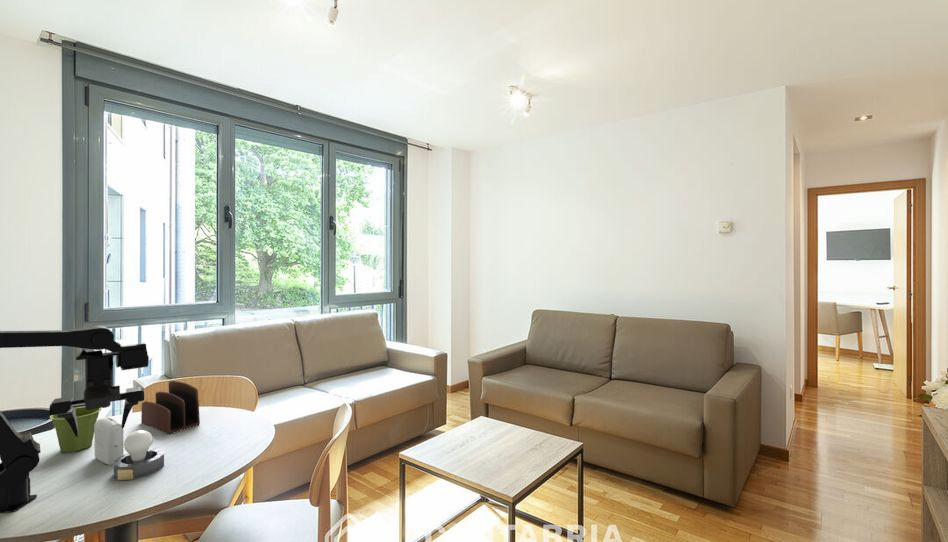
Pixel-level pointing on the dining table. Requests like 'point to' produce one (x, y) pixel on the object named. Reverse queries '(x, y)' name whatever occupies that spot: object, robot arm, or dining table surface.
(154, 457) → the roll of grey tape
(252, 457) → the dining table surface
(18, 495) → the robot arm
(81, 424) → the plant pot
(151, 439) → the lightbulb
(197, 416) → the letter holder
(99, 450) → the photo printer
